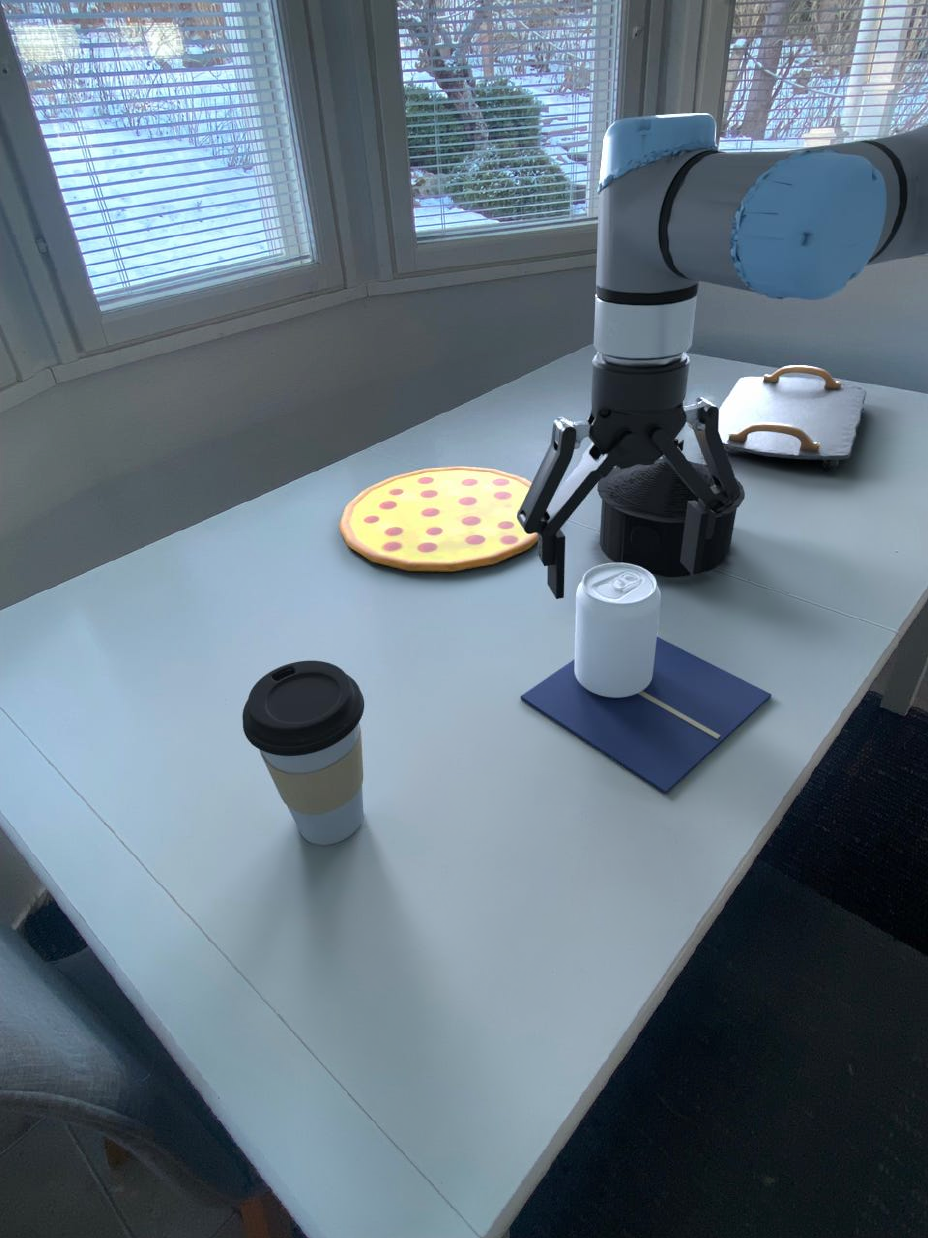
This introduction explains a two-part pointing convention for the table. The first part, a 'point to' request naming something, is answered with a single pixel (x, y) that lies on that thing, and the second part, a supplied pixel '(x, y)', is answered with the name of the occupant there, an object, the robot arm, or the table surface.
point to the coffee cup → (311, 745)
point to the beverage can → (616, 629)
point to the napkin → (654, 714)
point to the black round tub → (657, 518)
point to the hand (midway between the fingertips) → (623, 579)
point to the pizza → (439, 519)
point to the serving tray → (792, 416)
